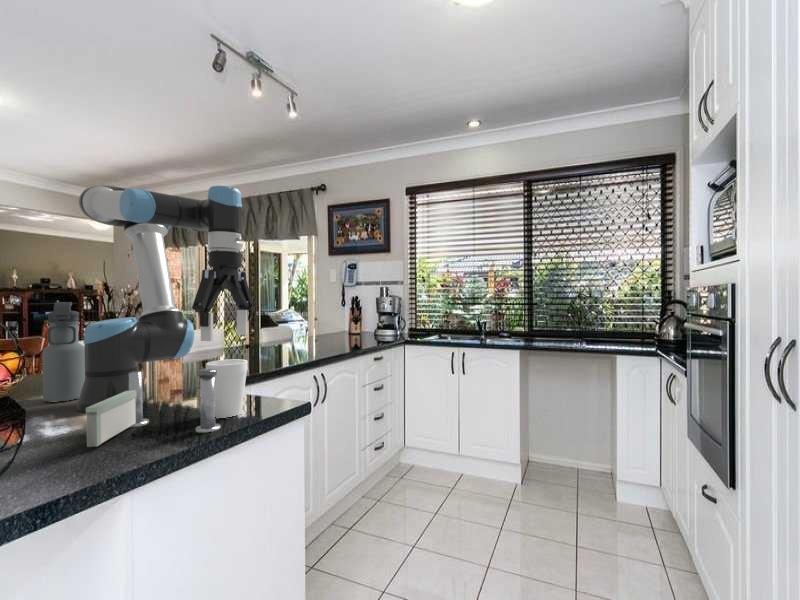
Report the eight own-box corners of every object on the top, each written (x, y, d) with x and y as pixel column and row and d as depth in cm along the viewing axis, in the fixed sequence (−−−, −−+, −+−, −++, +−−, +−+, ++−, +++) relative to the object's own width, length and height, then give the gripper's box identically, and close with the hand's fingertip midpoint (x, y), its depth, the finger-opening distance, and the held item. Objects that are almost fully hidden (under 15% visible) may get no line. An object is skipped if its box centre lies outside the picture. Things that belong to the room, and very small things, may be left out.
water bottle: (84, 400, 120) (83, 302, 119) (40, 405, 114) (38, 302, 114) (87, 393, 128) (86, 301, 128) (46, 397, 123) (44, 302, 123)
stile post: (190, 432, 90) (189, 372, 90) (205, 425, 95) (205, 368, 95) (210, 434, 89) (209, 372, 89) (225, 426, 94) (224, 368, 94)
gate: (127, 423, 94) (126, 390, 94) (136, 423, 95) (136, 390, 94) (86, 446, 80) (85, 408, 80) (97, 446, 80) (97, 407, 80)
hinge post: (117, 427, 94) (116, 373, 94) (136, 420, 99) (135, 369, 99) (136, 428, 93) (135, 374, 93) (154, 421, 98) (153, 370, 98)
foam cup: (233, 421, 98) (232, 365, 98) (198, 419, 100) (197, 364, 99) (255, 410, 107) (254, 359, 107) (222, 408, 109) (222, 358, 109)
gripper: (203, 245, 90) (204, 344, 90) (266, 255, 114) (266, 333, 115) (173, 246, 92) (174, 343, 92) (242, 255, 116) (242, 332, 116)
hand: (225, 337), depth 103 cm, fingers open, 13 cm apart
